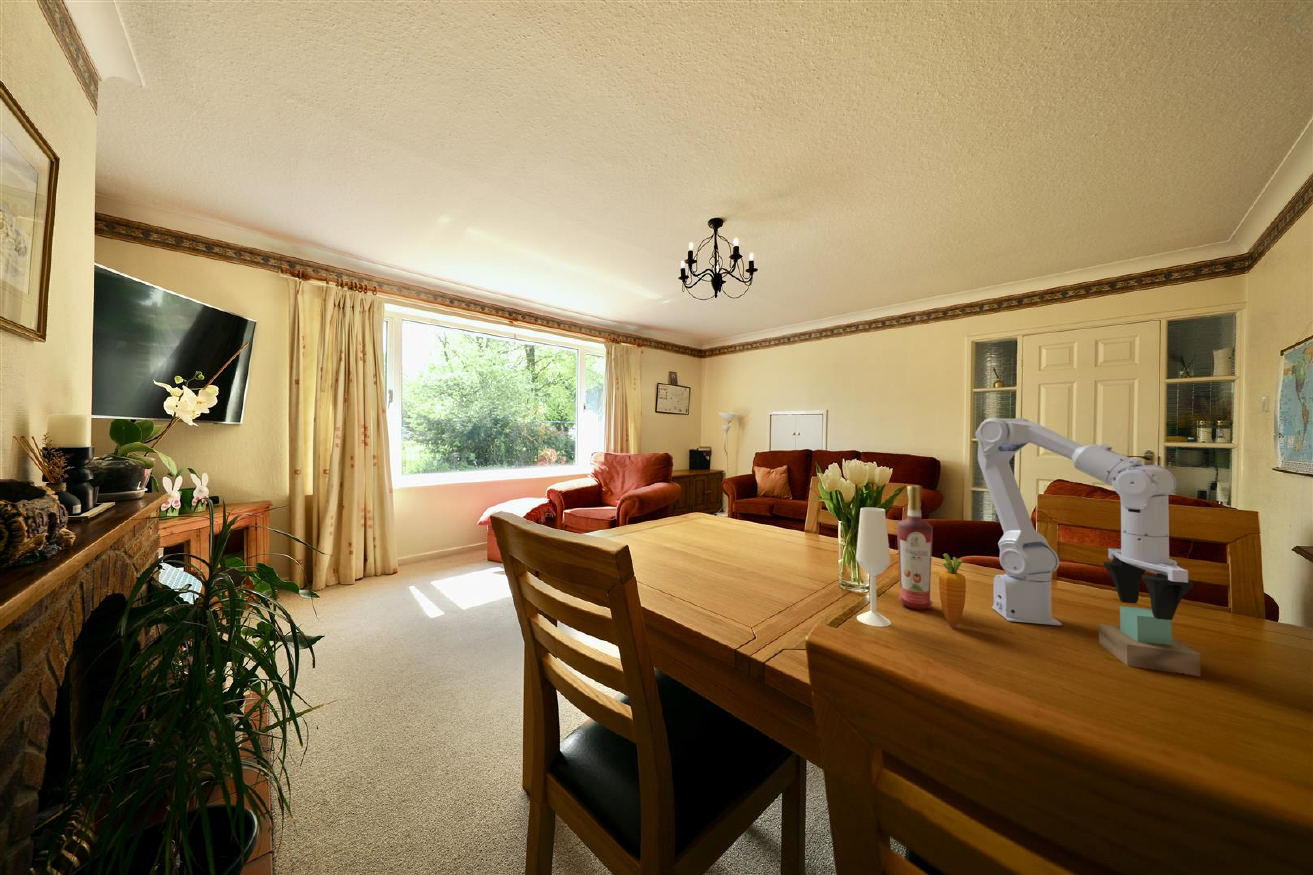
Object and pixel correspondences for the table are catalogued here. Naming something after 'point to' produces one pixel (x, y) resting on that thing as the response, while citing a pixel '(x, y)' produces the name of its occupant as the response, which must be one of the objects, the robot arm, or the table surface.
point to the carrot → (952, 591)
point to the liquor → (914, 554)
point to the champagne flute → (873, 557)
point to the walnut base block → (1150, 652)
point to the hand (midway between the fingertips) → (1145, 610)
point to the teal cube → (1145, 626)
